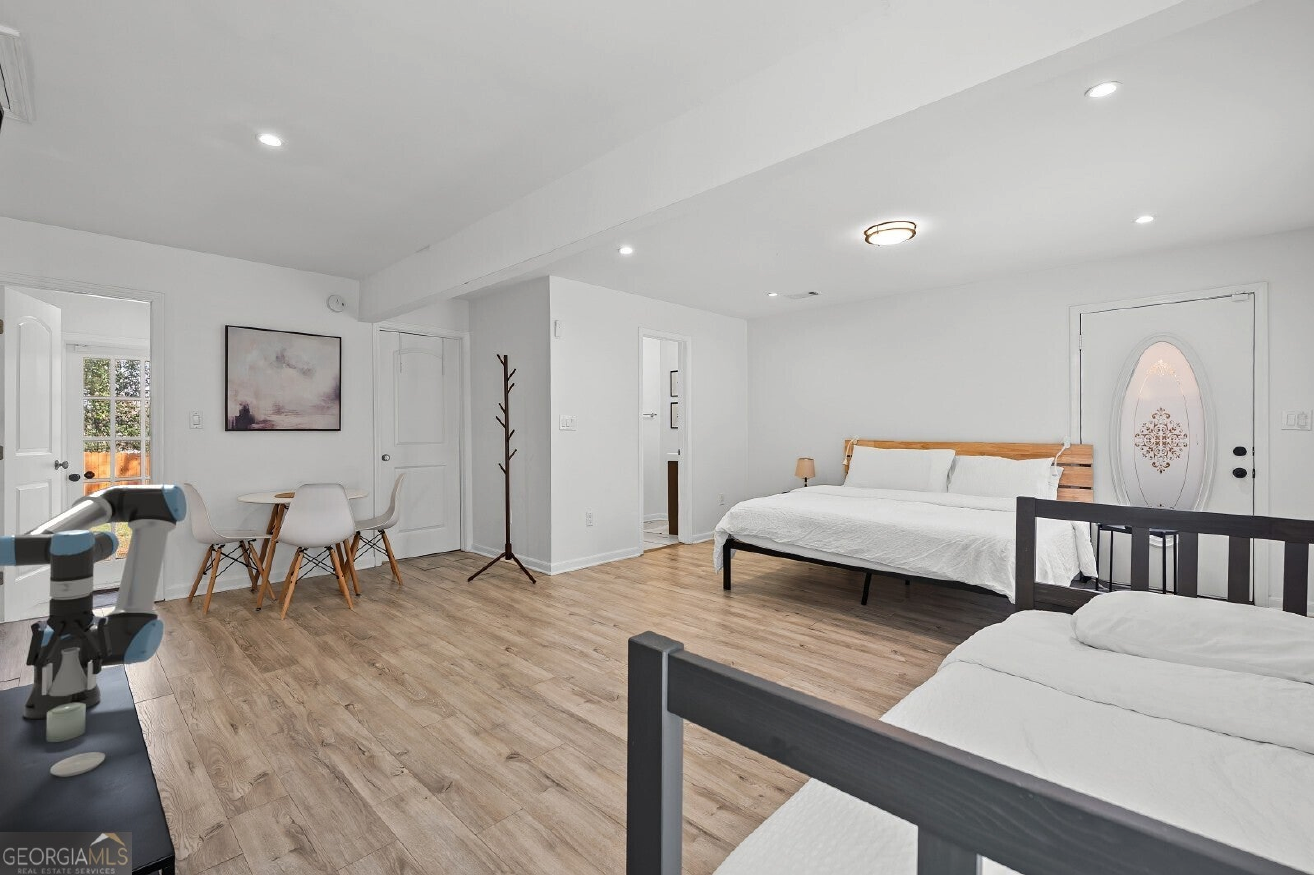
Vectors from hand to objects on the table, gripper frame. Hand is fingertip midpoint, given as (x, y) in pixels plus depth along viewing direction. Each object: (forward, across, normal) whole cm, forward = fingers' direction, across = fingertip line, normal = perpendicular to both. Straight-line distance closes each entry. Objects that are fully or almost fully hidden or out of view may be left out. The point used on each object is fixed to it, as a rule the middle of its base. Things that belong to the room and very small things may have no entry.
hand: (69, 689), depth 144 cm
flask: (0, 0, 0) cm, 0 cm away
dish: (+15, +6, -10) cm, 19 cm away
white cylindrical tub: (+15, -4, +10) cm, 18 cm away
